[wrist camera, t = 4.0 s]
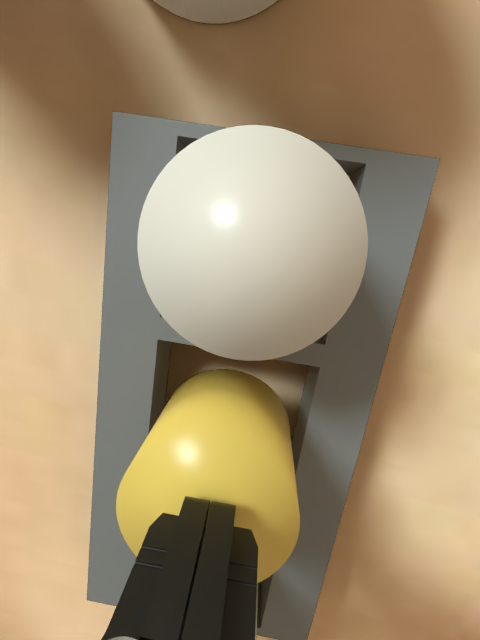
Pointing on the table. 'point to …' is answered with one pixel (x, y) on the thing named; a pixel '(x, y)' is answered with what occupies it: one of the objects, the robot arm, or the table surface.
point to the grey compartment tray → (322, 357)
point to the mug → (215, 9)
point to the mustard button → (218, 463)
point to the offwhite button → (252, 242)
